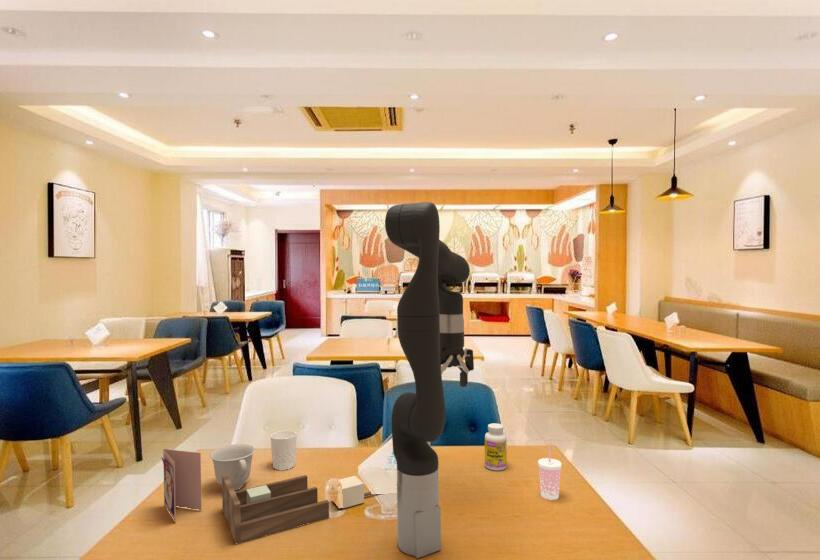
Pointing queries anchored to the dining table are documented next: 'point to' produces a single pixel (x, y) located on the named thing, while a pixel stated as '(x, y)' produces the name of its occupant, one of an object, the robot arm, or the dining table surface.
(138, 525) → the dining table surface
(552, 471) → the beverage cup
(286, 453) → the white cup
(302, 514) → the lane rack
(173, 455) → the greeting card
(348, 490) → the cream long block
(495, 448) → the supplement bottle
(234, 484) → the teacup
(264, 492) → the sage block
